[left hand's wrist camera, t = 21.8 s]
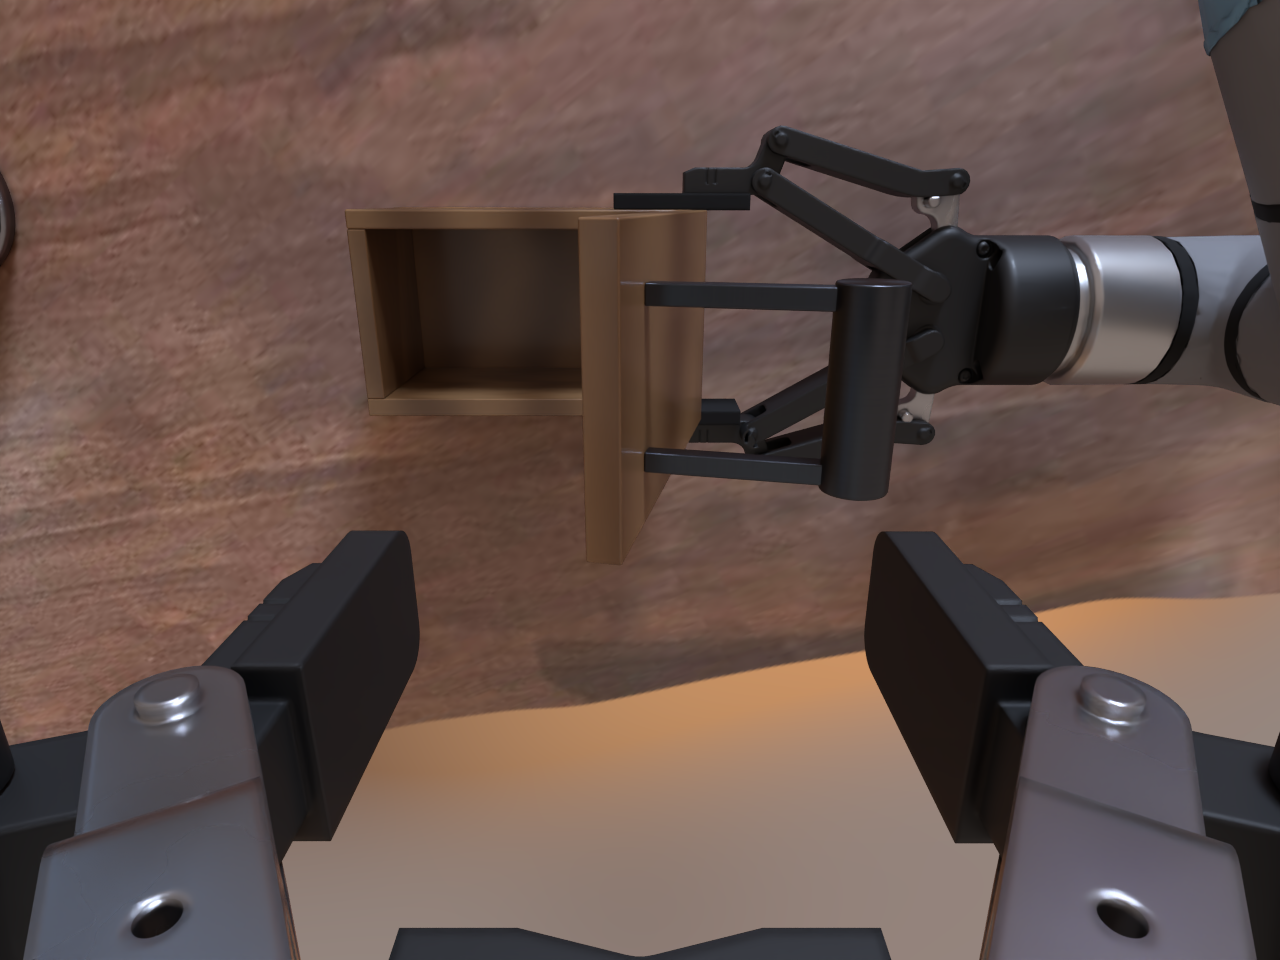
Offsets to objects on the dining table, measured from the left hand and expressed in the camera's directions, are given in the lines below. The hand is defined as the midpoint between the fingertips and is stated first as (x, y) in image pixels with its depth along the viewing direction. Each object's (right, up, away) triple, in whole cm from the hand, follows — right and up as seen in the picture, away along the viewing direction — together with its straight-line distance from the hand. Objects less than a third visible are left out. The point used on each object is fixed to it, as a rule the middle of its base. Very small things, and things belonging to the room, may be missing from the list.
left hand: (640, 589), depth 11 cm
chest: (-6, +13, +34) cm, 37 cm away
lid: (0, +7, +18) cm, 19 cm away
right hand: (-1, +10, +28) cm, 30 cm away
